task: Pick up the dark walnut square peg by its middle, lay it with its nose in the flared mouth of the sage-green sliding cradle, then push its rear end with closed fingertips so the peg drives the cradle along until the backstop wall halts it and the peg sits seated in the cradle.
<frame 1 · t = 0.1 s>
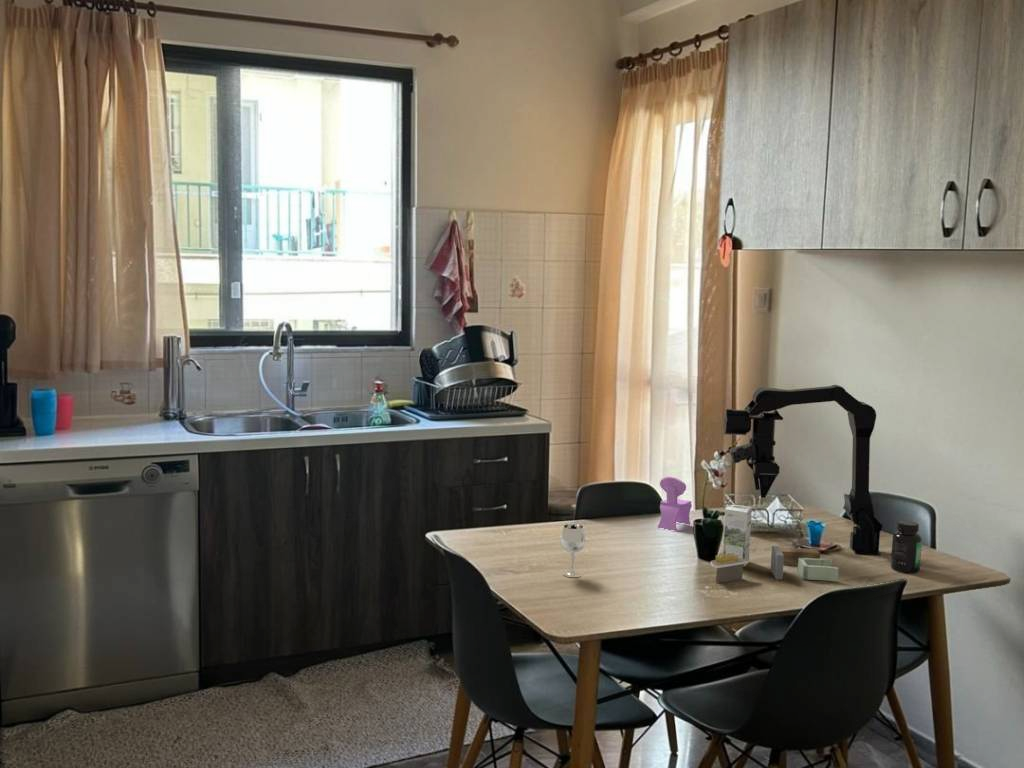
hand: (760, 493, 269), 15 cm above the table, tool pointing down, fingers open, 9 cm apart
backstop wall: (776, 574, 247), on the table
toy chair: (674, 527, 289), on the table
syrup box: (735, 563, 256), on the table
supplement bottle: (905, 570, 253), on the table
walnut peg: (797, 563, 257), on the table
wineglass: (571, 575, 243), on the table
cradle: (817, 569, 246), point 2 cm above the table, slide at 0.0 cm
platform: (726, 582, 242), on the table
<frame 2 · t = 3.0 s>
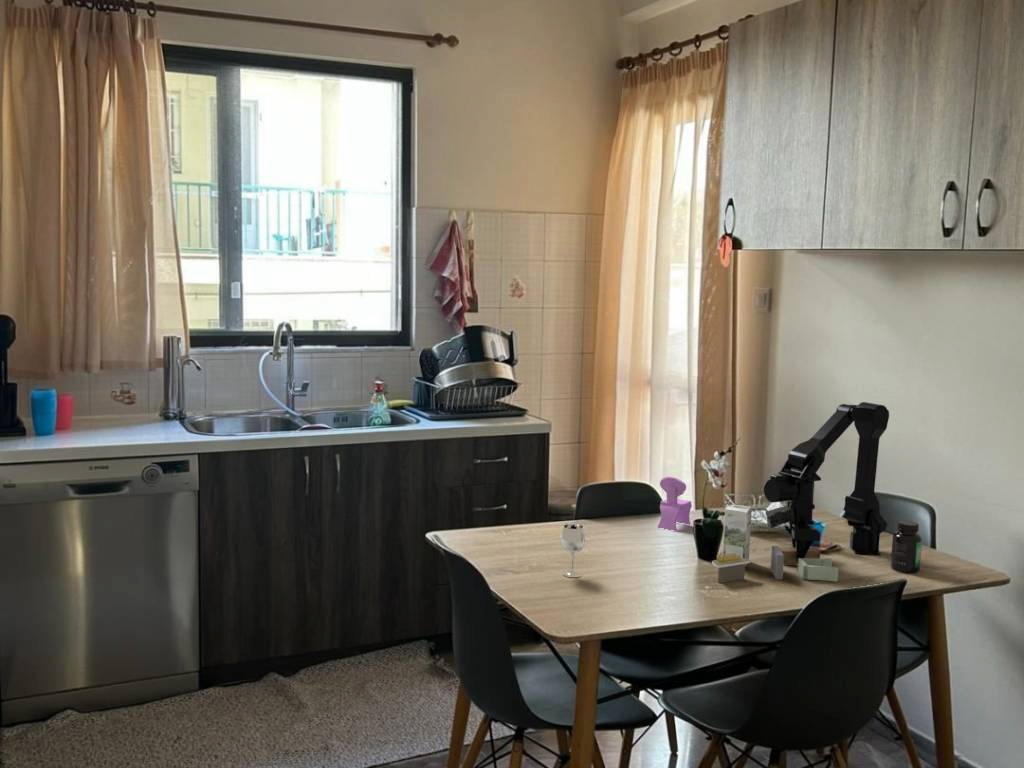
hand: (798, 558, 257), 1 cm above the table, tool pointing down, fingers closed on walnut peg, 4 cm apart
walnut peg: (797, 562, 257), on the table, touching gripper
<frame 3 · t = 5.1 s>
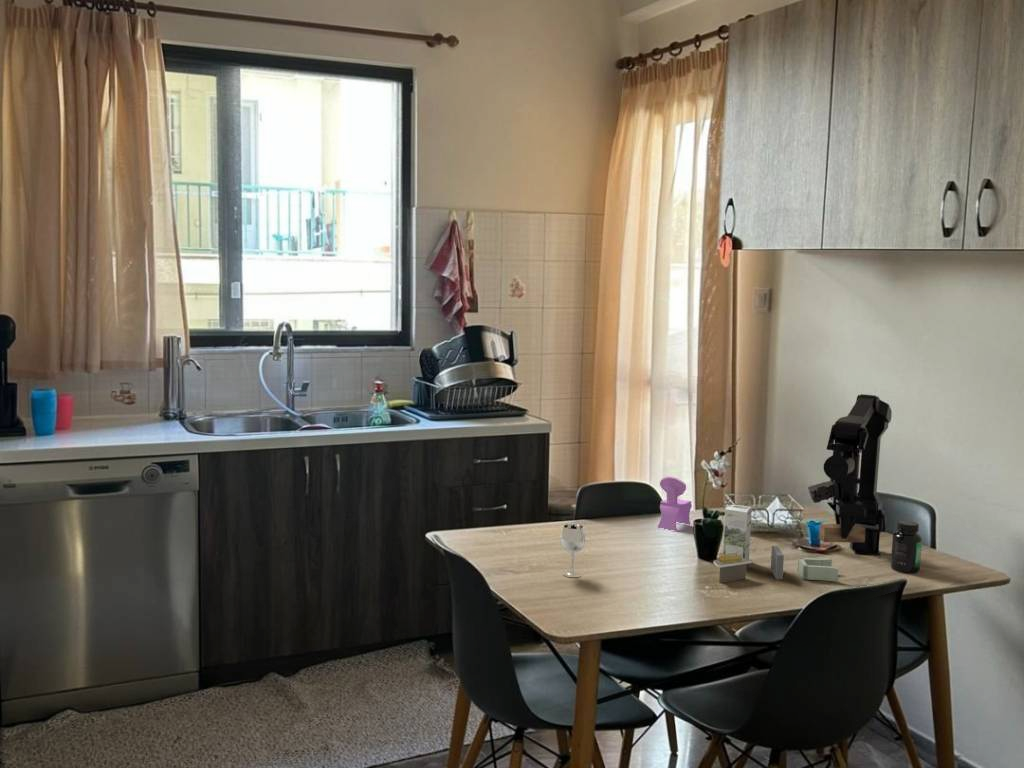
hand: (842, 535, 246), 10 cm above the table, tool pointing down, fingers closed on walnut peg, 4 cm apart
walnut peg: (841, 540, 246), point 9 cm above the table, touching gripper
when the fingers open (2 cm above the table, at t = 7.5 s): walnut peg stays where it is, on the table.
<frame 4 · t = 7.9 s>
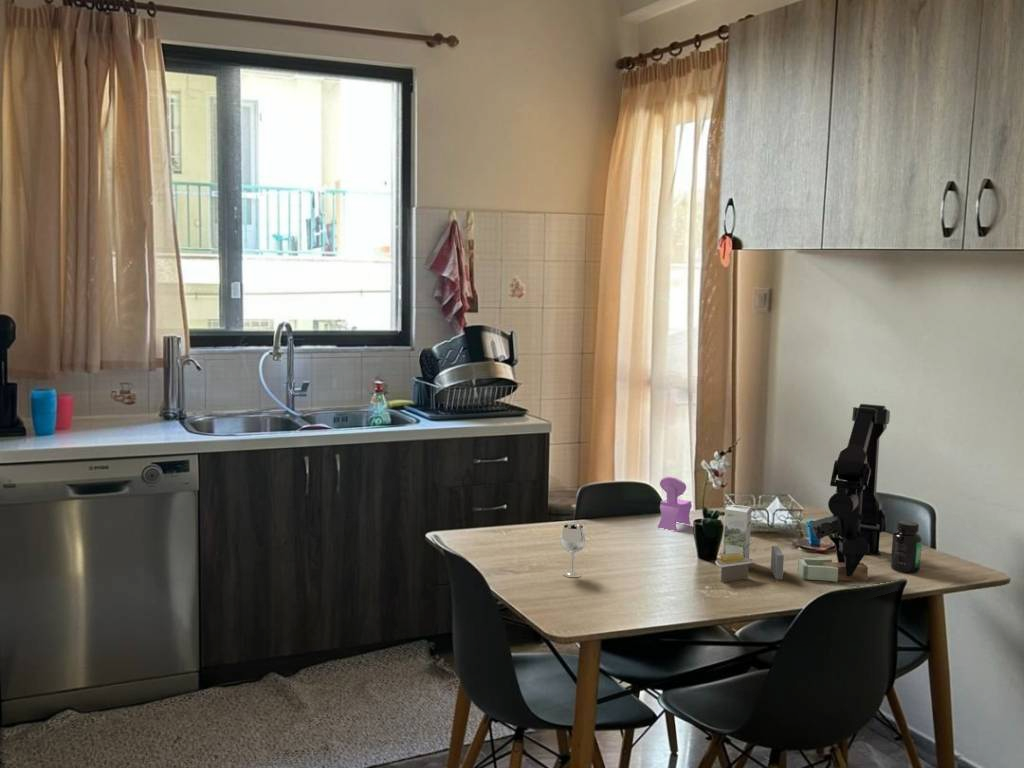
hand: (844, 571, 246), 2 cm above the table, tool pointing down, fingers open, 8 cm apart
walnut peg: (844, 578, 246), on the table
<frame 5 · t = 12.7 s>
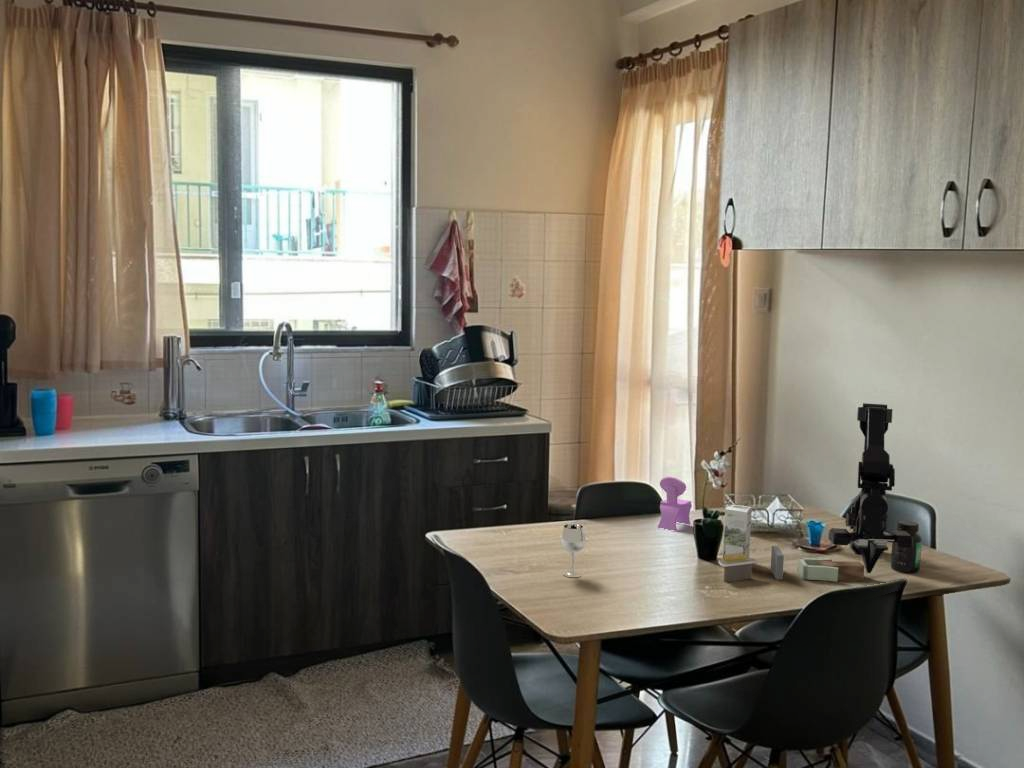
hand: (868, 572, 245), 2 cm above the table, tool pointing down, fingers closed
walnut peg: (840, 577, 246), on the table, touching gripper
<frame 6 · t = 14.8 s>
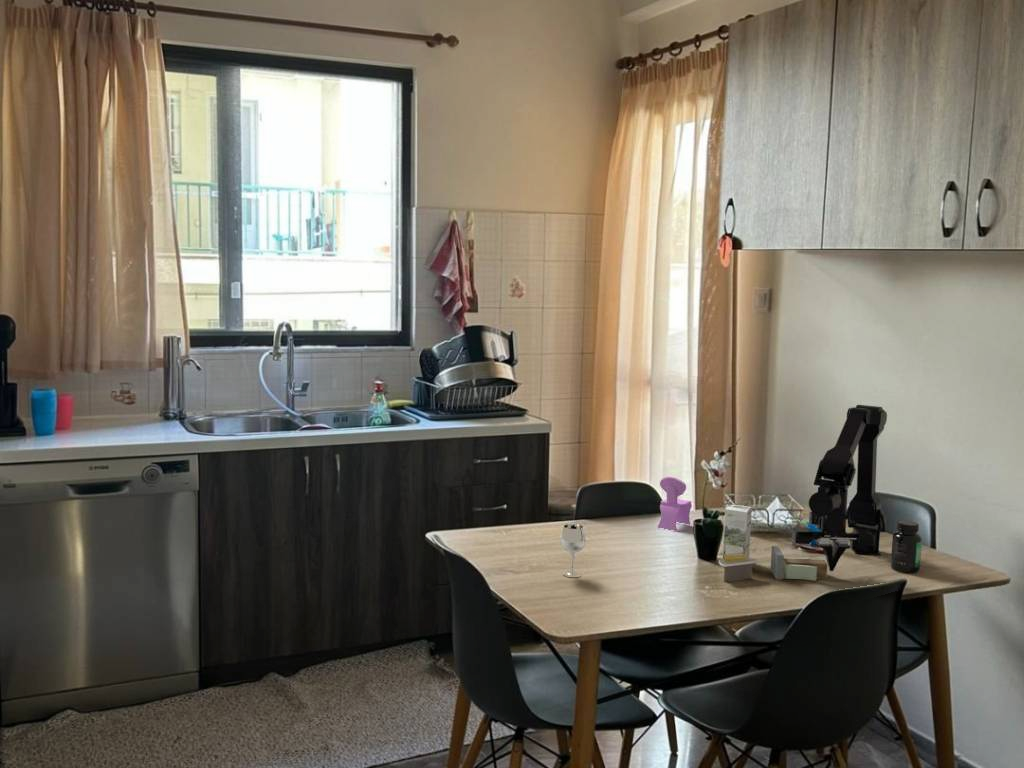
hand: (831, 570, 246), 2 cm above the table, tool pointing down, fingers closed
walnut peg: (803, 574, 247), on the table, touching cradle, gripper
cradle: (796, 568, 247), point 2 cm above the table, slide at 5.0 cm, touching backstop wall, walnut peg
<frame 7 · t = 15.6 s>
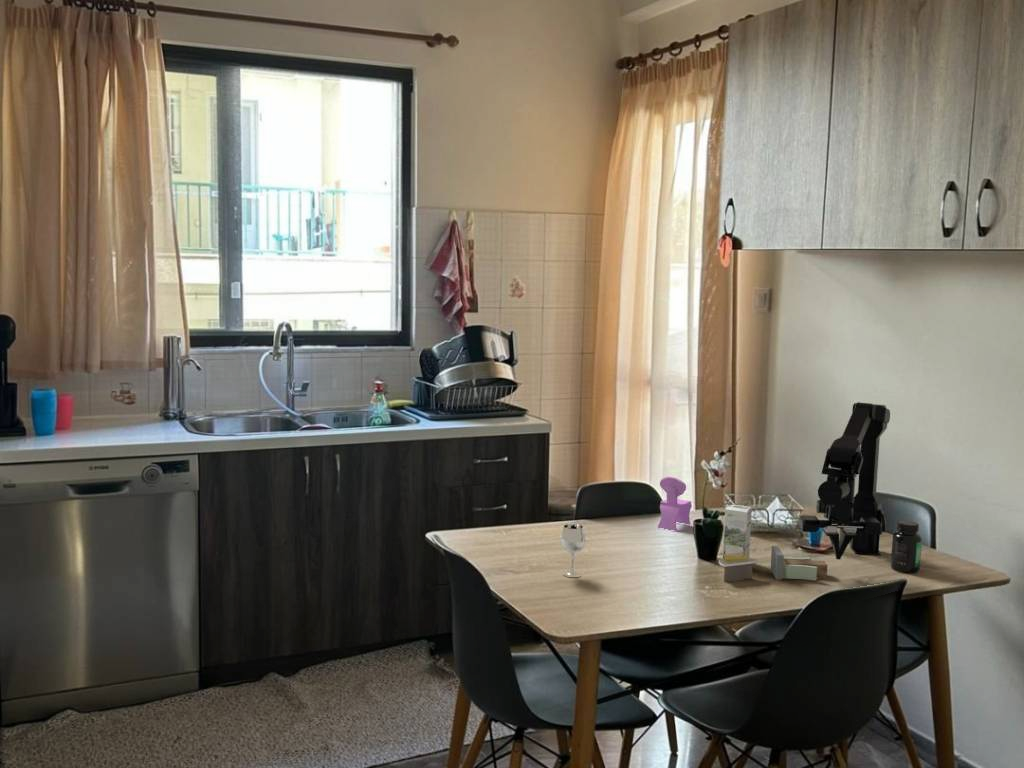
hand: (837, 559, 247), 4 cm above the table, tool pointing down, fingers closed
walnut peg: (804, 576, 247), on the table
cradle: (796, 568, 247), point 2 cm above the table, slide at 5.0 cm, touching backstop wall
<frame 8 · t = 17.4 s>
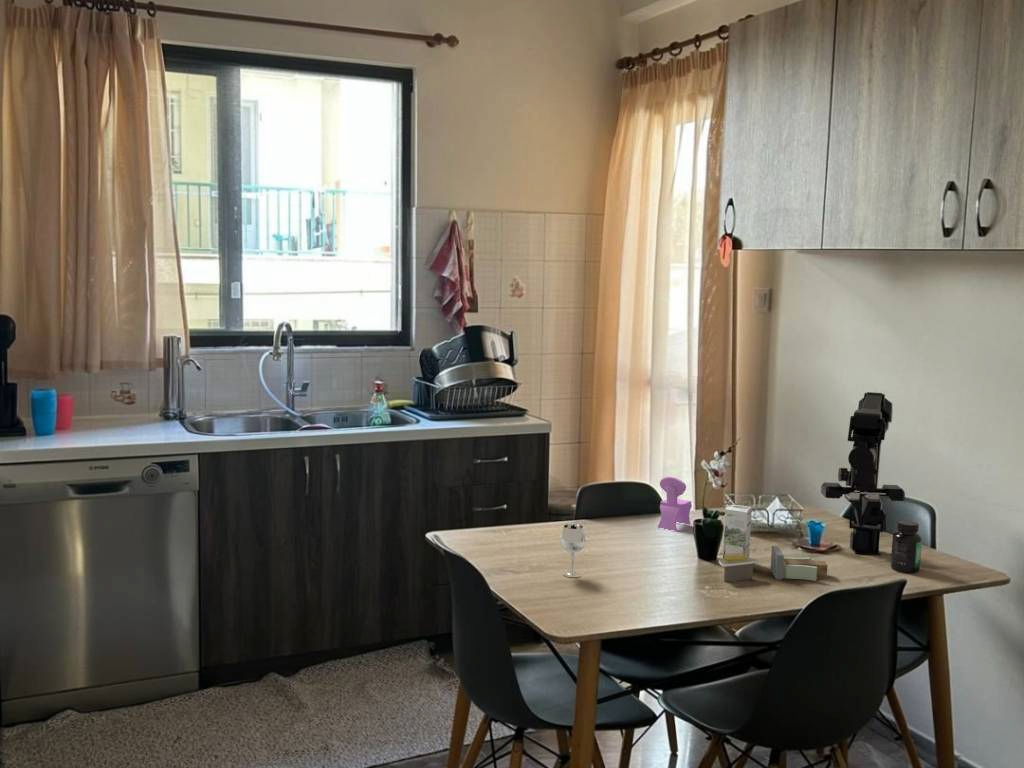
hand: (860, 525, 248), 12 cm above the table, tool pointing down, fingers closed
at the end: cradle slide at 5.0 cm; walnut peg 0.9 cm from the target spot on the cradle, point 0.0 cm above the cradle's base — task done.
